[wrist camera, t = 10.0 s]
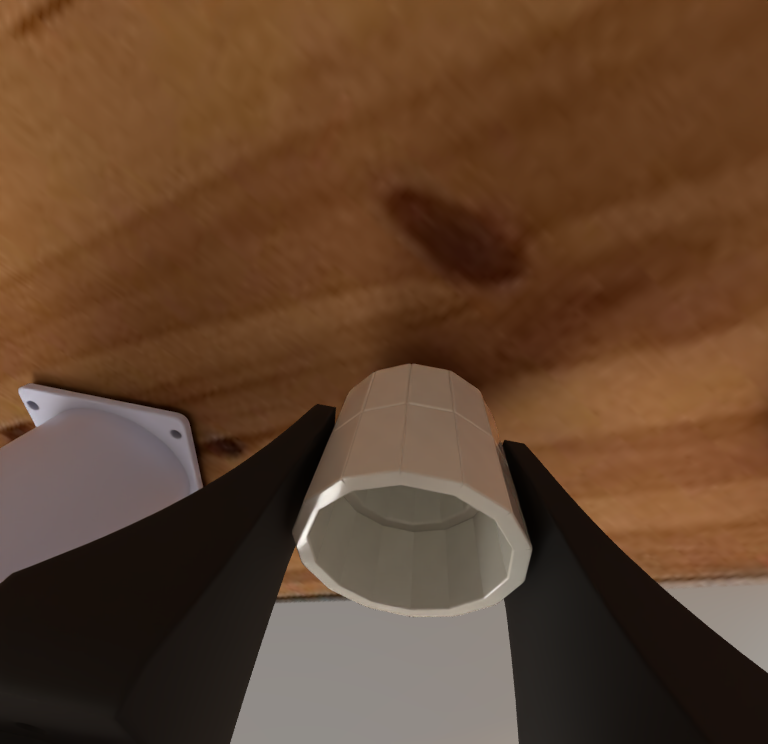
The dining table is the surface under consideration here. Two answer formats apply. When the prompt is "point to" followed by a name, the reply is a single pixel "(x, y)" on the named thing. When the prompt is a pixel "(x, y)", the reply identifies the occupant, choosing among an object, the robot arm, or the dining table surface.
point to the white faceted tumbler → (415, 499)
